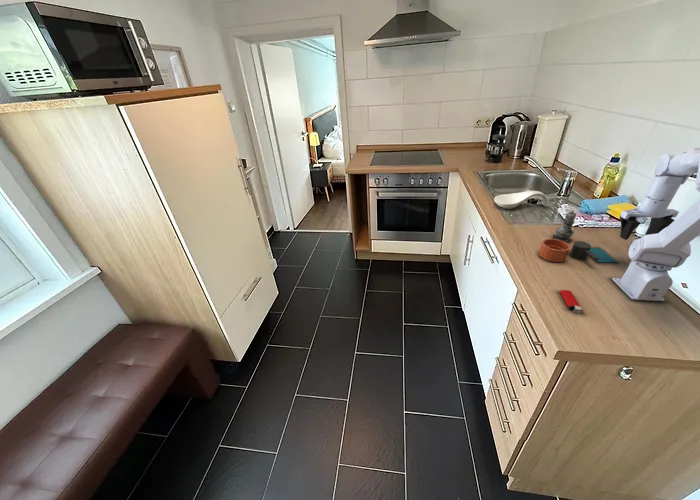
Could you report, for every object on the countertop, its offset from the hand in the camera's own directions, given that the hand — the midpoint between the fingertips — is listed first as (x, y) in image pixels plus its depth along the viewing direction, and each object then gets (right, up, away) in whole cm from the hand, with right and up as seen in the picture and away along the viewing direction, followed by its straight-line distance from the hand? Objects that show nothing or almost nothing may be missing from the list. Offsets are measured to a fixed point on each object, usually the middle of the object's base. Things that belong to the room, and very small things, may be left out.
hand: (636, 237), depth 91 cm
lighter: (-28, -19, -9) cm, 35 cm away
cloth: (-4, -6, +9) cm, 11 cm away
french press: (+10, +58, +110) cm, 125 cm away
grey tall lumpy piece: (-9, 0, +19) cm, 22 cm away
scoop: (-11, -7, +7) cm, 15 cm away
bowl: (-20, -6, +10) cm, 23 cm away
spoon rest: (-10, +17, +46) cm, 50 cm away
